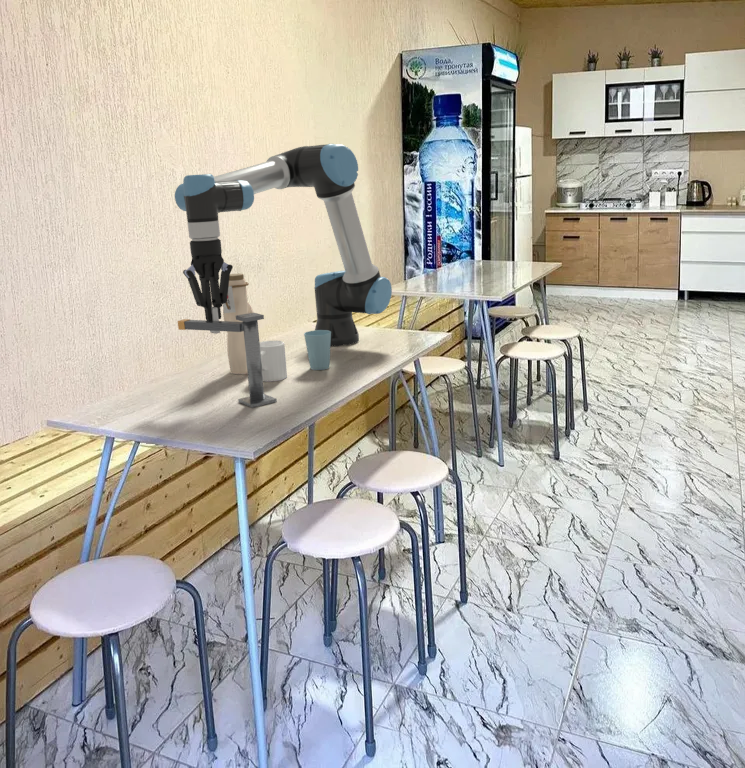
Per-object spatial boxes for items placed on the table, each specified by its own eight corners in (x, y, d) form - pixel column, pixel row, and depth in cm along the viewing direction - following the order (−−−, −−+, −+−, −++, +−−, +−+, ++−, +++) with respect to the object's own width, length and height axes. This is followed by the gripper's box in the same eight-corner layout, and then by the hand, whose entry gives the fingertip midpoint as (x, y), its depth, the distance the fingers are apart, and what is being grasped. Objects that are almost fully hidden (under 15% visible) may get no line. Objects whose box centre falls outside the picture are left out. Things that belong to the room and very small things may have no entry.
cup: (303, 371, 224) (301, 335, 222) (309, 364, 232) (307, 330, 229) (330, 371, 223) (328, 335, 221) (334, 364, 231) (332, 329, 228)
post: (263, 396, 201) (255, 311, 195) (276, 401, 196) (269, 314, 190) (238, 402, 197) (230, 315, 191) (251, 407, 192) (243, 319, 186)
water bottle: (252, 376, 222) (242, 277, 214) (222, 376, 224) (212, 277, 216) (264, 367, 232) (255, 272, 224) (235, 367, 233) (225, 272, 226)
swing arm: (246, 330, 194) (245, 321, 193) (240, 332, 192) (239, 323, 191) (184, 327, 202) (183, 319, 201) (178, 329, 199) (177, 321, 199)
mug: (248, 385, 212) (244, 350, 210) (264, 374, 224) (261, 340, 221) (276, 385, 211) (273, 350, 208) (290, 374, 222) (288, 340, 219)
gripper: (220, 235, 201) (230, 326, 207) (173, 241, 193) (185, 335, 199) (235, 236, 195) (244, 330, 201) (188, 242, 187) (199, 339, 193)
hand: (215, 332), depth 200 cm, fingers closed
